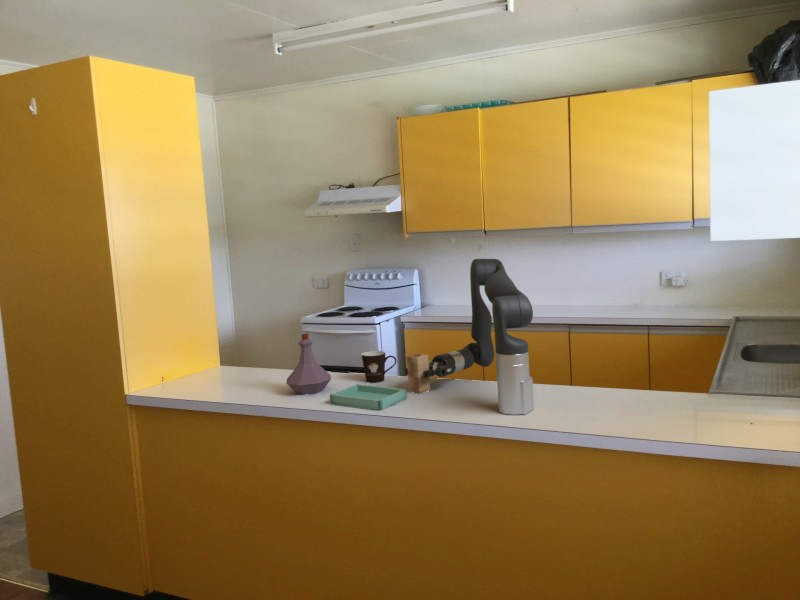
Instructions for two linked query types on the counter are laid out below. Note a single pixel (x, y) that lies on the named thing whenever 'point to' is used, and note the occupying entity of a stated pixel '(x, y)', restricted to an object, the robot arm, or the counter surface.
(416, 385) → the tan wooden tall block
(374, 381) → the coffee mug
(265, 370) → the counter surface
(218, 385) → the counter surface
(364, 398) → the green tray
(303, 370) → the flask
